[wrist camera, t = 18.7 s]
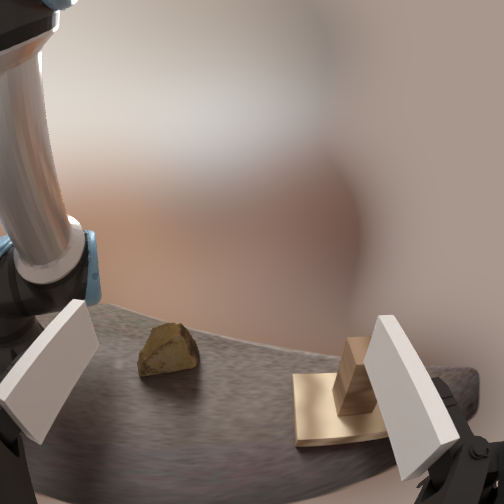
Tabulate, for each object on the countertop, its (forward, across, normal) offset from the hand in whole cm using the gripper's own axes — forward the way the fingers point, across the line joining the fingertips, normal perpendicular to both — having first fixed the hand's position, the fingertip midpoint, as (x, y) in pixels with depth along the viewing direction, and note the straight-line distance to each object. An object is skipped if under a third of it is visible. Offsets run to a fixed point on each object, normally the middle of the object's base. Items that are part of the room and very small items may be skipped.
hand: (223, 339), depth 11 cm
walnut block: (+14, +15, -24) cm, 31 cm away
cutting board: (+14, +15, -26) cm, 33 cm away
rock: (+23, -13, -26) cm, 37 cm away
